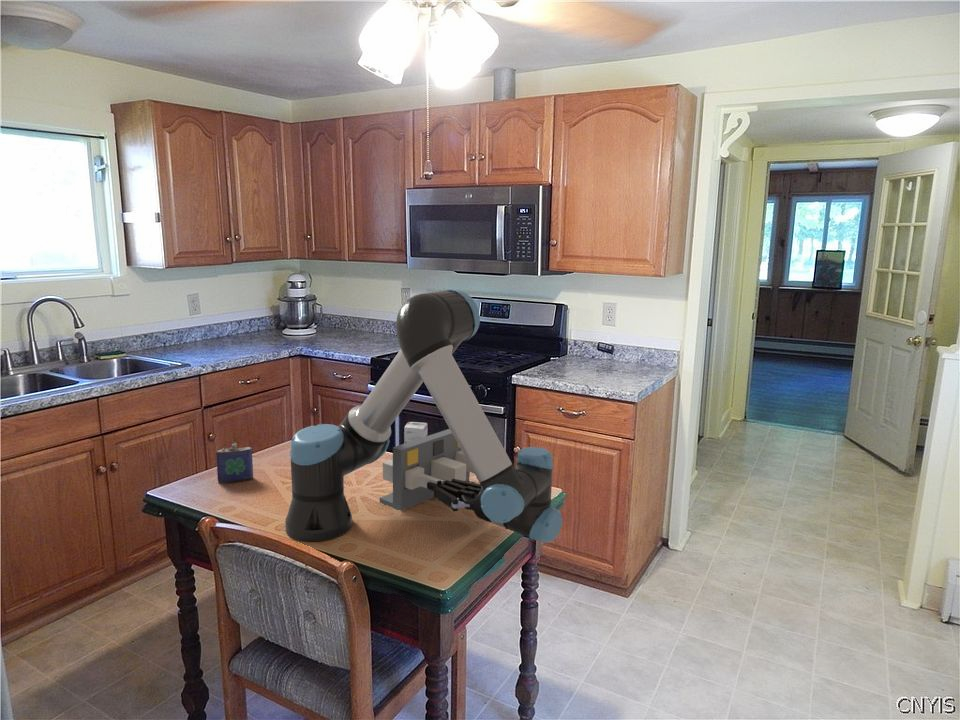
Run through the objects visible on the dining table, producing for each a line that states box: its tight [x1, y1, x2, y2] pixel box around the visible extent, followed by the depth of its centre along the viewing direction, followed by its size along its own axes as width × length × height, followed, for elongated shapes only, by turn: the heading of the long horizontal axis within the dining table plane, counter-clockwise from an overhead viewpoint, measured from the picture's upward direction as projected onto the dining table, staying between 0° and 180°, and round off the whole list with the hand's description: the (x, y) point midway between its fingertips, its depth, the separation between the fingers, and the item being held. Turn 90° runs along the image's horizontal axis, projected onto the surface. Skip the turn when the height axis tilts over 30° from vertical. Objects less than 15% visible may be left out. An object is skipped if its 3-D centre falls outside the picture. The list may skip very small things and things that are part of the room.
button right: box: [455, 449, 474, 474], centre depth 172 cm, size 4×10×4 cm, turn 51°
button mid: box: [431, 456, 466, 481], centre depth 165 cm, size 4×10×4 cm, turn 51°
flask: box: [215, 442, 254, 484], centre depth 174 cm, size 9×3×11 cm, turn 114°
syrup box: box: [403, 421, 428, 444], centre depth 183 cm, size 6×6×14 cm
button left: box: [382, 458, 424, 490], centre depth 162 cm, size 4×10×4 cm, turn 51°
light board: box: [378, 428, 471, 512], centre depth 169 cm, size 26×8×16 cm, turn 141°
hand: (422, 479), depth 157 cm, fingers closed
